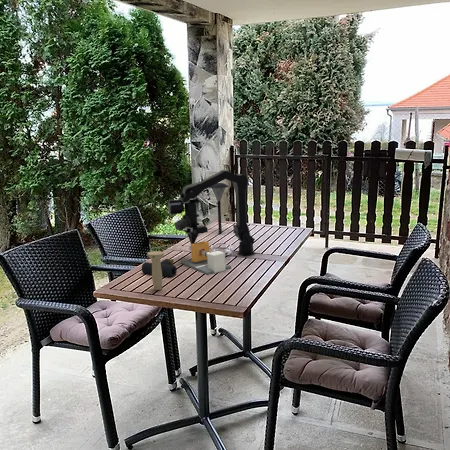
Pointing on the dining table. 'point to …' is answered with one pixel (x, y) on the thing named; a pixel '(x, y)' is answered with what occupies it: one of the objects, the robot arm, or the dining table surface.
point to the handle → (156, 268)
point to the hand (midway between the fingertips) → (192, 244)
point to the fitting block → (216, 261)
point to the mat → (201, 266)
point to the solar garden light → (219, 199)
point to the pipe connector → (166, 268)
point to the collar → (195, 251)
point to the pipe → (201, 252)
